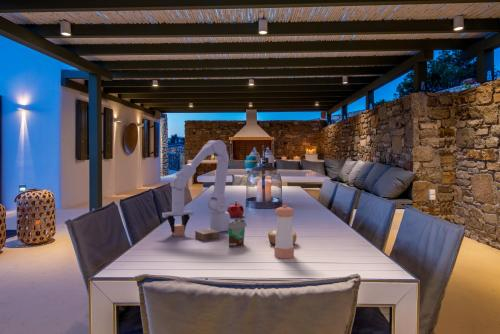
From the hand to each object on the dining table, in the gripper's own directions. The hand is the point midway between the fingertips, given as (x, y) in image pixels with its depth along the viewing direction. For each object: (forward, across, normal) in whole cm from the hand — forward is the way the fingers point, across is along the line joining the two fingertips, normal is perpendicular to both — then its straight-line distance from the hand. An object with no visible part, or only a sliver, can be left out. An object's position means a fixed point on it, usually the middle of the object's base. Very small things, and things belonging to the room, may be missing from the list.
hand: (178, 231), depth 179 cm
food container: (+2, -16, +30) cm, 34 cm away
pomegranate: (+2, -46, -31) cm, 55 cm away
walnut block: (+2, -9, +13) cm, 16 cm away
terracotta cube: (+1, 0, 0) cm, 1 cm away
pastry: (+2, -33, +37) cm, 50 cm away
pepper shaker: (+2, -23, +53) cm, 58 cm away
